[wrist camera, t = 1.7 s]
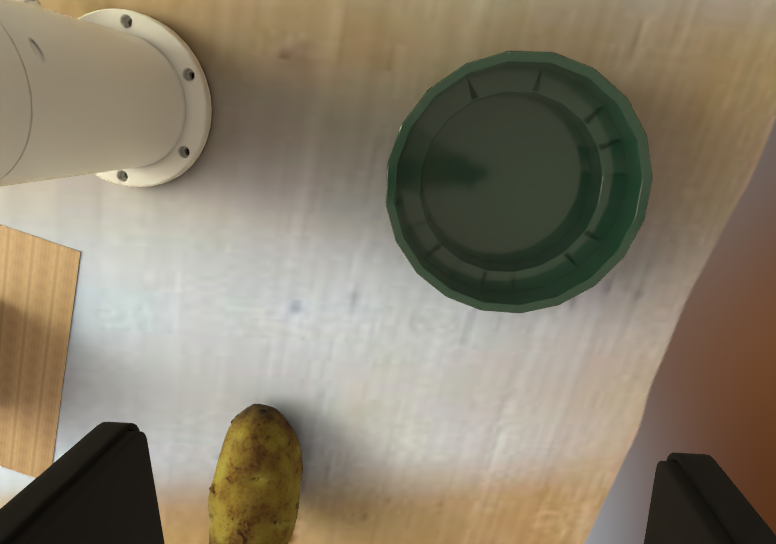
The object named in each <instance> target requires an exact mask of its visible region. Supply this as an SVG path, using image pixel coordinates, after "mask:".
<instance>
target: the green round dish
mask: <svg viewBox="0 0 776 544" xmlns="http://www.w3.org/2000/svg"><path fill="white" fill-rule="evenodd" d="M651 183H652V170H651V163H650V155H649V148H648V141H647V136H646V133H645V131H644V129H643V127H642V125H641V123H640V121H639V119H638V117H637V116H636V114H635V112H634V110H633V108H632V106H631V104H630V102H629V100H628V98H626V96H625V95H624V94H622V93H621V92H620V91H619V90H618V89H617V88H616V87H615V86H614V85H612V84H611V83H610V82H609V81H608V80H607V79H606V78H605V77H604V76H602V75H601V74H600V73H599V72H598V71H597V70H596V69H594V68H592V67H590V66H587V65H585V64H582V63H580V62H577V61H574V60H572V59H569V58H567V57H564V56H562V55H559V54H557V53H553V52H533V51H509V52H508V51H506V52H503V53H499V54H496V55H493V56H489V57H486V58H483V59H479V60H476V61H473V62H470V63H466V65H465V64H464V65H463V66H461V67H460V68H459V69H457V70H456V71H454V72H453V73H451V74H450V75H448V76H447V77H446V78H444V79H443V80H441V81H440V82H438V83H437V84H436V85H434V86H433V87H431V88H430V89H429V90H428V91H427V92H426V93H425V95H424V96H423V97H422V98H421V100H420V101H419V102H418V104H417V105H416V106H415V108H414V109H413V110H412V111H411V113H410V114H409V115H408V117H407V118H406V119H405V121H404V122H403V123H402V125H401V128H400V130H399V133H398V136H397V139H396V141H395V144H394V147H393V149H392V152H391V155H390V158H389V160H388V164H387V183H386V207H387V211H388V214H389V218H390V222H391V225H392V229H393V233H394V236H395V240H396V242H397V244H398V245H399V247H400V248H401V250H402V251H403V253H404V254H405V256H406V257H407V259H408V260H409V262H410V263H411V265H412V266H413V268H414V270H415V271H416V272H417V274H419V275H420V276H421V277H422V278H424V279H425V280H426V281H427V282H429V283H430V284H431V285H432V286H434V287H435V288H436V289H437V290H439V291H440V292H441V293H442V294H444V295H445V296H447V297H448V298H451V299H454V300H456V301H459V302H461V303H464V304H466V305H469V306H472V307H474V308H477V309H479V310H484V311H497V312H510V313H524V312H529V311H533V310H538V309H543V308H547V307H552V306H557V305H560V304H562V303H563V302H565V301H567V300H569V299H571V298H573V297H575V296H576V295H578V294H580V293H582V292H584V291H586V290H588V289H589V288H591V287H593V286H594V285H596V284H597V283H598V282H599V281H600V280H601V279H602V278H603V277H604V276H605V275H606V274H607V273H608V272H609V271H610V270H611V269H612V268H613V267H614V266H615V265H616V264H617V263H618V262H619V261H620V260H621V259H622V258H623V257H624V256H625V254H626V253H627V251H628V249H629V247H630V245H631V243H632V242H633V240H634V238H635V236H636V234H637V232H638V231H639V229H640V227H641V225H642V223H643V221H644V219H645V214H646V209H647V204H648V199H649V194H650V188H651Z"/></svg>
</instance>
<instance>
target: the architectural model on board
mask: <svg viewBox="0 0 776 544" xmlns="http://www.w3.org/2000/svg"><path fill="white" fill-rule="evenodd" d="M79 258H80V252H79V251H76V250H73V249H70V248H67V247H64V246H61V245H58V244H55V243H53V242H50V241H47V240H44V239H41V238H38V237H35V236H32V235H29V234H26V233H23V232H20V231H17V230H14V229H11V228H8V227H5V226H3V225H0V466H2V467H5V468H8V469H11V470H14V471H17V472H20V473H23V474H26V475H29V476H32V477H35V478H37V477H38V476H39V475H41V474H42V473H43V472H44V471H45V470H46V469H47V468H49V467H50V466H51V465H52V461H53V454H54V446H55V439H56V431H57V424H58V416H59V409H60V401H61V393H62V386H63V378H64V371H65V363H66V356H67V348H68V341H69V333H70V326H71V318H72V311H73V303H74V296H75V288H76V281H77V273H78V265H79Z"/></svg>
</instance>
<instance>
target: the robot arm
mask: <svg viewBox="0 0 776 544" xmlns="http://www.w3.org/2000/svg"><path fill="white" fill-rule="evenodd" d="M131 22H132V26H131ZM192 73H194V79H192ZM211 115H212V107H211V97H210V91H209V87H208V84H207V80H206V76H205V74H204V72H203V70H202V68H201V66H200V63H199V61H198V59H197V58H196V57H195V55H194V54H193V52H192V51H191V49H190V48H189V46H188V45H187V44H186V43H185V42H184V41H183V40H182V39H181V38H180V37H179V36H178V35H177V34H176V33H175V32H174V31H173V30H171V29H170V28H169V27H167V26H166V25H164V24H163V23H162V22H160V21H157V20H155V19H153V18H151V17H149V16H147V15H144V14H141V13H138V12H135V11H132V10H125V9H118V8H112V9H100V10H97V11H94V12H91V13H88V14H85V15H83V16H82V17H80V18H79V19H78V18H75V17H71V16H68V15H65V14H61V13H58V12H56V11H51V10H48V9H45V8H44V7H43V6H41V4H40V3H39V1H38V0H0V186H7V185H14V184H21V183H29V182H36V181H43V180H50V179H57V178H65V177H72V176H79V175H86V174H93V173H94V174H95V175H96V176H98V177H100V178H102V179H104V180H107V181H109V182H111V183H114V184H118V185H122V186H126V187H140V188H142V187H148V186H155V185H159V184H163V183H166V182H169V181H171V180H173V179H175V178H177V177H179V176H180V175H182V174H183V173H184V172H185V171H186V170H188V169H189V168H190V167H191V166H192V165H193V164H194V162H195V161H196V160H197V158H198V157H199V156H200V154H201V152H202V150H203V148H204V146H205V144H206V142H207V138H208V134H209V131H210V127H211ZM187 149H189V154H188V153H187ZM127 175H128V176H127ZM0 544H164V538H163V532H162V526H161V520H160V514H159V508H158V502H157V496H156V490H155V484H154V478H153V473H152V467H151V461H150V455H149V449H148V443H147V438H146V435H145V434H144V433H143V432H140V431H139V428H138V427H137V425H135V424H133V423H119V422H103V423H101V424H99V425H97V426H96V427H95V428H94V429H93V430H92V431H90V432H89V433H88V434H87V435H86V436H85V437H84V438H82V439H81V440H80V441H79V442H78V443H77V444H75V445H74V446H73V447H72V448H71V449H70V450H68V451H67V452H66V453H65V454H64V455H63V456H61V457H60V458H59V459H58V460H57V461H56V462H54V463H53V464H52V465H51V466H50V467H49V468H47V469H46V470H45V471H44V472H43V473H42V474H41V475H39V476H38V477H37V478H36V479H35V480H34V481H32V482H31V483H30V484H29V485H28V486H27V487H25V488H24V489H23V490H22V491H21V492H20V493H18V494H17V495H16V496H15V497H14V498H13V499H11V500H10V501H9V502H8V503H7V504H6V505H4V506H3V507H2V508H1V509H0ZM644 544H776V535H775V534H774V533H773V532H772V530H771V529H770V528H769V527H768V525H767V524H766V523H765V522H764V520H763V519H762V518H761V517H760V516H759V514H758V513H757V512H756V511H755V509H754V508H753V507H752V506H751V504H750V503H749V502H748V501H747V499H746V498H745V497H744V496H743V494H742V493H741V492H740V491H739V490H738V488H737V487H736V486H735V485H734V484H733V482H732V481H731V480H730V478H729V477H728V476H727V475H726V473H725V472H724V471H723V470H722V469H721V467H720V466H719V465H718V464H717V462H716V461H715V460H714V459H713V458H712V457H711V456H709V455H706V454H687V453H671V454H670V455H669V456H668V458H667V461H660V462H658V464H657V468H656V472H655V479H654V485H653V491H652V497H651V503H650V509H649V516H648V522H647V529H646V534H645V540H644Z"/></svg>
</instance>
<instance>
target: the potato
mask: <svg viewBox="0 0 776 544" xmlns="http://www.w3.org/2000/svg"><path fill="white" fill-rule="evenodd" d="M302 471H303V465H302V456H301V449H300V445H299V442H298V439H297V436H296V434H295V432H294V430H293V429H292V427H291V426H290V424H289V423H288V422H287V421H286V419H285V418H284V417H283V415H282V414H281V413H280V412H279V411H278V410H276V409H275V408H272V407H270V406H266V405H261V404H252V405H251V406H249V407H248V408H246V409H245V410H243V411H242V412H241V413H240V414H238V415H237V416H236V417H235V418H234V419H233V420H232V421H231V426H230V428H229V430H228V432H227V434H226V437H225V440H224V443H223V446H222V450H221V453H220V456H219V459H218V463H217V467H216V471H215V474H214V478H213V482H212V485H211V487H210V488H209V489H210V493H209V499H208V507H209V516H210V518H211V525H210V534H209V541H210V542H209V544H288V543H289V541H290V538H291V536H292V534H293V530H294V527H295V523H296V519H297V513H298V508H299V498H300V483H301V480H302V479H301V478H302Z"/></svg>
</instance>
